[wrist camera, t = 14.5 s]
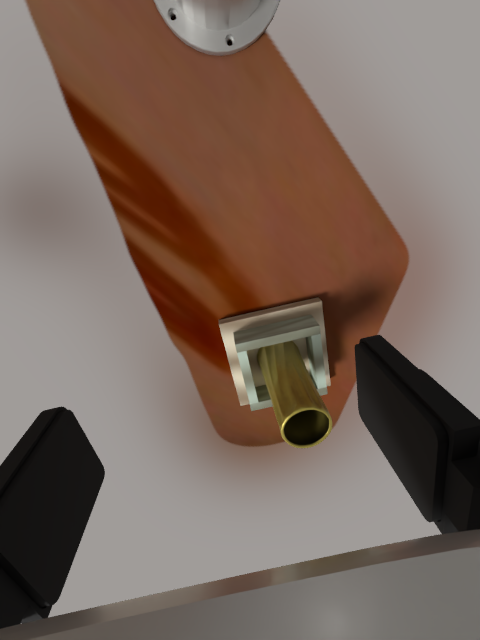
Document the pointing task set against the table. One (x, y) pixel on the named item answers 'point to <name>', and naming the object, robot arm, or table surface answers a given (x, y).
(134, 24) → the table surface
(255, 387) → the vase stand
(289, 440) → the vase
